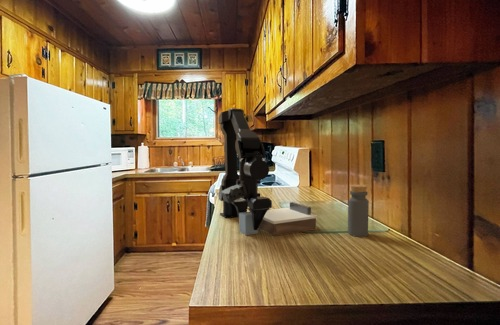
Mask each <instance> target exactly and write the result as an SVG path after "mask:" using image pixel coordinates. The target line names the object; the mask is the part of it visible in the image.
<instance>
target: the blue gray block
mask: <svg viewBox="0 0 500 325" xmlns="http://www.w3.org/2000/svg"><path fill="white" fill-rule="evenodd" d="M238 232H239V233H241V234H243V235H245V236H249V235H250V236H251V235H256V234H259V229H258V230H254V228H253V221H252V213H251V212H250V211H247V212H242V213H239V216H238Z"/></svg>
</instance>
